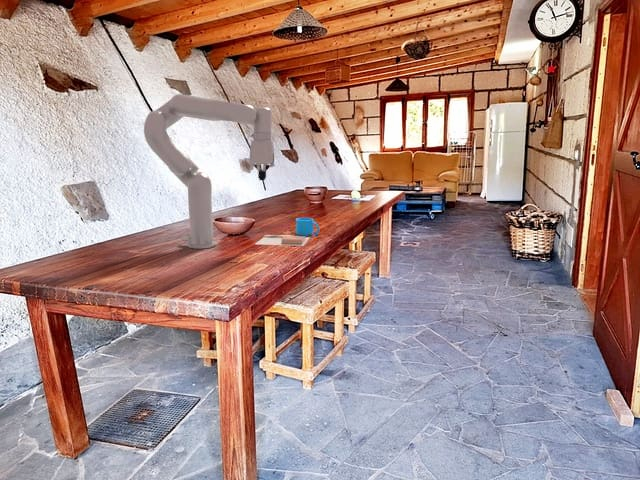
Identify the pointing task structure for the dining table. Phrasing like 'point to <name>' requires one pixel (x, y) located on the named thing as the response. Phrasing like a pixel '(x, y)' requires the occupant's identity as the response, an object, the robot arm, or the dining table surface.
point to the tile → (293, 239)
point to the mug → (305, 226)
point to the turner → (278, 236)
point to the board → (277, 241)
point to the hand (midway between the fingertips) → (262, 180)
